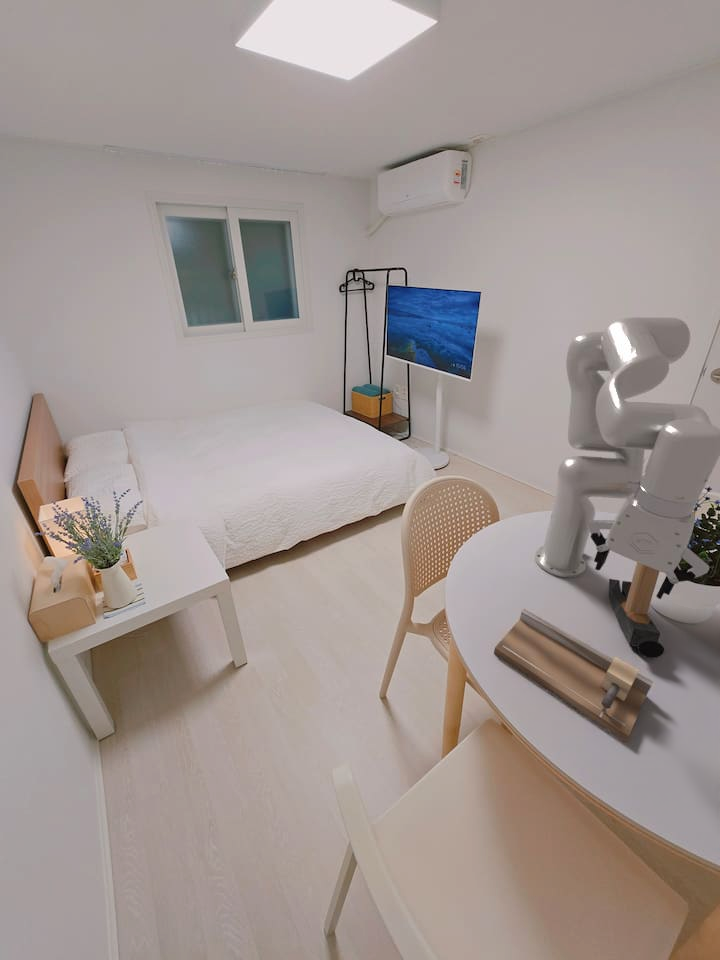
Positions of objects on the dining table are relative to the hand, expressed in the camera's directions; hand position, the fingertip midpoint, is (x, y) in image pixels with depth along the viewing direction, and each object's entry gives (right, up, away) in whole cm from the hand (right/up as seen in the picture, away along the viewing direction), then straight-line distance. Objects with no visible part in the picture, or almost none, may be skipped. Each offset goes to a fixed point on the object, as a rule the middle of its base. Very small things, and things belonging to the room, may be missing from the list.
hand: (628, 579), depth 71 cm
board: (-6, -21, +9) cm, 24 cm away
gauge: (-1, -22, +3) cm, 23 cm away
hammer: (+14, -15, +20) cm, 29 cm away
